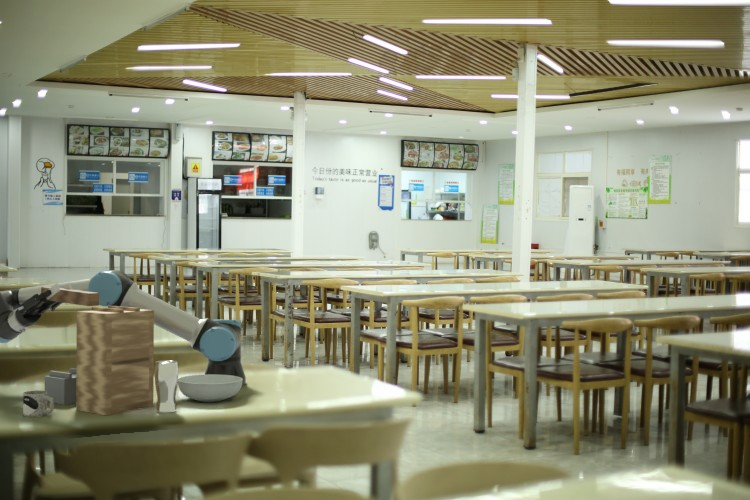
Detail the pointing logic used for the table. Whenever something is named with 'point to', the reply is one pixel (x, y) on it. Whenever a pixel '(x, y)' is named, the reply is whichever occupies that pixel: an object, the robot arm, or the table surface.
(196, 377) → the serving bowl
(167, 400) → the beer glass
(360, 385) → the table surface
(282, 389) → the table surface
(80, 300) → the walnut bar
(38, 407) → the mug
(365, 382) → the table surface
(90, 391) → the oak stand
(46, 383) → the grey cradle
